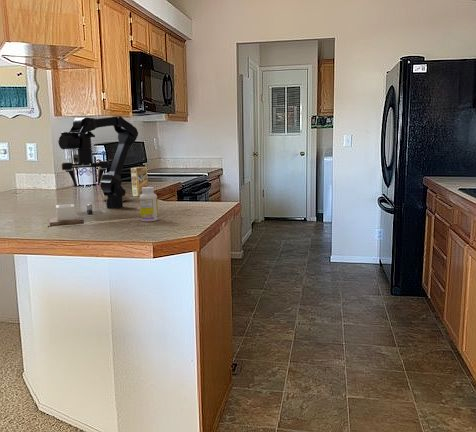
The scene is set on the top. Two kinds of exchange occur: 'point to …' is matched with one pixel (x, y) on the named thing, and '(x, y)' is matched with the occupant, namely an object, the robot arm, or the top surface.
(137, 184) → the candy box
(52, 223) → the hub
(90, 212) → the stand
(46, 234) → the top surface
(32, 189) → the top surface
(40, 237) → the top surface
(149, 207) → the supplement bottle
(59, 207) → the collar
